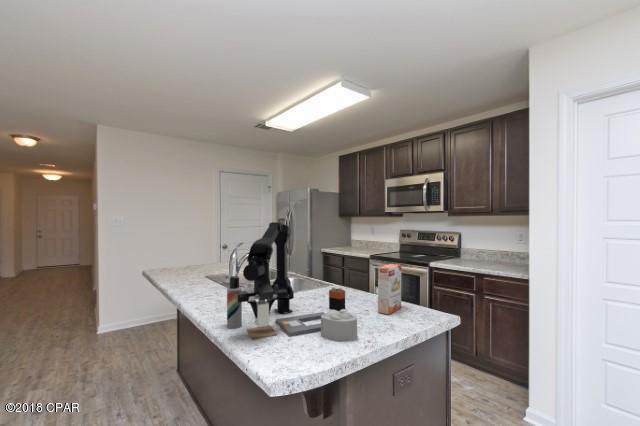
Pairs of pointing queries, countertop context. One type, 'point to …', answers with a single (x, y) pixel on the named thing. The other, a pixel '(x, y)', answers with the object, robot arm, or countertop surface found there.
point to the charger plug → (262, 313)
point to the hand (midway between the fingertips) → (261, 317)
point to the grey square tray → (299, 324)
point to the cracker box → (389, 288)
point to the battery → (336, 299)
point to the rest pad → (261, 332)
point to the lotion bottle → (234, 304)
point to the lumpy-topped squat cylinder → (339, 325)
